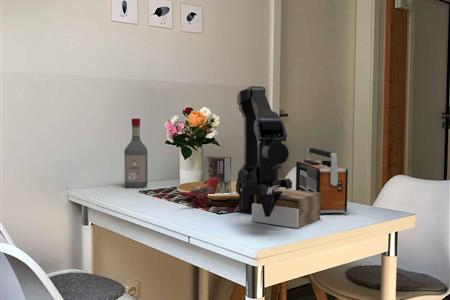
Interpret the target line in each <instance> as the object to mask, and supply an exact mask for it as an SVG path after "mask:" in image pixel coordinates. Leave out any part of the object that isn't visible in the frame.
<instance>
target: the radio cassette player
mask: <svg viewBox="0 0 450 300" xmlns="http://www.w3.org/2000/svg"><path fill="white" fill-rule="evenodd" d="M313 154H314V155H319V156H322V157H325V158H330V159H331V160H316V159H315V160H313ZM295 168H296V169H295V190H299V191H308V192H318V193H321V200H320V215H322V214H338V215H340V214H342V213H346V212H348V181H349V179H348V178H349V169H348V168H345V167H340V166H338V155H337V153H335V152H331V151H327V150H323V149H319V148H314V147H308V148H307V154H306V159H304V160H303V161H301V160H298V161H296V164H295Z"/></svg>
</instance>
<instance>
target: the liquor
mask: <svg viewBox="0 0 450 300" xmlns="http://www.w3.org/2000/svg"><path fill="white" fill-rule="evenodd" d="M140 126H141V118H131V128H132V129H131V130H132V131H131V134H132V135H131V141H130V142H129V143H128V144H127V145H126V147H125V149H124V152H123V153H124V187H125V188H126V189H129V188H141V189H145V188H147V186H148V181H149V180H148V149H147V146H145V144H144V143H143V142H142V141H141V134H140V131H141V129H140ZM144 187H145V188H144Z"/></svg>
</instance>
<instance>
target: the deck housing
mask: <svg viewBox="0 0 450 300" xmlns="http://www.w3.org/2000/svg"><path fill="white" fill-rule="evenodd" d="M277 189H278V191H282V194H281V195H280V197H279V199H286V200H294V201H298V209H299V227H298V228H297V229H300V228H303V227H305V226H308V225H311V224H313V223H316V222H319V221H320V220H321V214H320V200H321V193H318V192H308V191H299V190H296V189H286V188H281V187H277ZM254 203H256V204H261V201H260V199H259V198H258V197H257V196H256V195H254Z"/></svg>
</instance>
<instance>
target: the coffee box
mask: <svg viewBox="0 0 450 300" xmlns="http://www.w3.org/2000/svg"><path fill="white" fill-rule="evenodd" d="M202 162H203V163H202V164H203V167H202V170H203V171H202V172H203V175H202V176H203V179H202V180H203V182H202V183H203V185H204V184H205V183H206V182H207V181H208V180H209V179H211V178H212V177H216V178H217V180H218V182H219V183H218V185H217V188H216V191H215V193H231V194H232V157H231V156H214V155H213V156H211V155H210V156H206V157H203V158H202Z"/></svg>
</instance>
